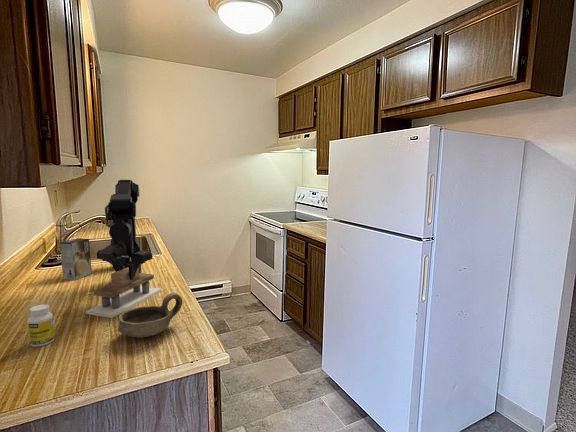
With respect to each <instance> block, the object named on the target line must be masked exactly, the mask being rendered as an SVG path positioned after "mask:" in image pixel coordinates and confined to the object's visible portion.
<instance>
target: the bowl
mask: <svg viewBox="0 0 576 432" xmlns="http://www.w3.org/2000/svg"><path fill="white" fill-rule="evenodd" d="M171 300H175V305H174V306H173V308H172V309H171V310H169V307H168V306H169V303H170V301H171ZM182 306H183V298H182V296H181V295H180V294H178V293H177V292H171V293H168V294H167V295H166V296H165V297H164V298H163V300H162V304H161V305H150V306H149V305H147V306H139V307H134V308H133V307H132V308H129V309H128V310H126V311H124V312H122V313H120V314H119V317H118V320H119V326H118V328H117V331H118V332H119V333H121V334H123V335H125V336H128V337H132V338H133V337H134V338H147V337H152V336H155V335H158V334H160V333H162V332H163V331H165V330H166V329H167V328H168V327H169V325H170V322H171V321H172V319H173V318H174V317H175V316H176V315H177V314H178V313H180V312H179V311H180V310H181V309H182Z"/></svg>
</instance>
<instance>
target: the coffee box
mask: <svg viewBox="0 0 576 432" xmlns="http://www.w3.org/2000/svg"><path fill="white" fill-rule="evenodd" d="M90 248H91V247H90V239H89V238H80V237H79V238H72V239H68V240H65V241H61V242H60V241H59V250H60V252H59V253H60V259H61V260H60V262H61V268H62V269H61V270H62V279H63V280H69V281H77V280H79V279H82V278H84V277H87V276H90V275H92V274H93V272H92V270H93V269H92V261H91V249H90Z"/></svg>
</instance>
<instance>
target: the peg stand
mask: <svg viewBox="0 0 576 432" xmlns="http://www.w3.org/2000/svg"><path fill="white" fill-rule="evenodd" d="M162 291H163V289H162V288H160V287H159V288H158V287H150V280H149V281H147V282H145V283H143V284H141V285H138V286H136V287H134V288H132V289H130V290H128V291H125V292H123V293H121V294H119V295H117V296H115V297H112V298H108V297H101V303H100V304H97V305H95V306H94V307H92V308H90V309H88V310H85V313H86V315H92V316H97V317H103V318H108V319H112V318H114V317H117V316H118V315H121V314H122V313H123V312H125V311H127V310H130V309H132V308H133V307H135V306H137V305H139V304H141V303H144V301H147V300H148V299H150V298H152V297H154V296H156V295H157V294H160V293H161V292H162Z"/></svg>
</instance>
